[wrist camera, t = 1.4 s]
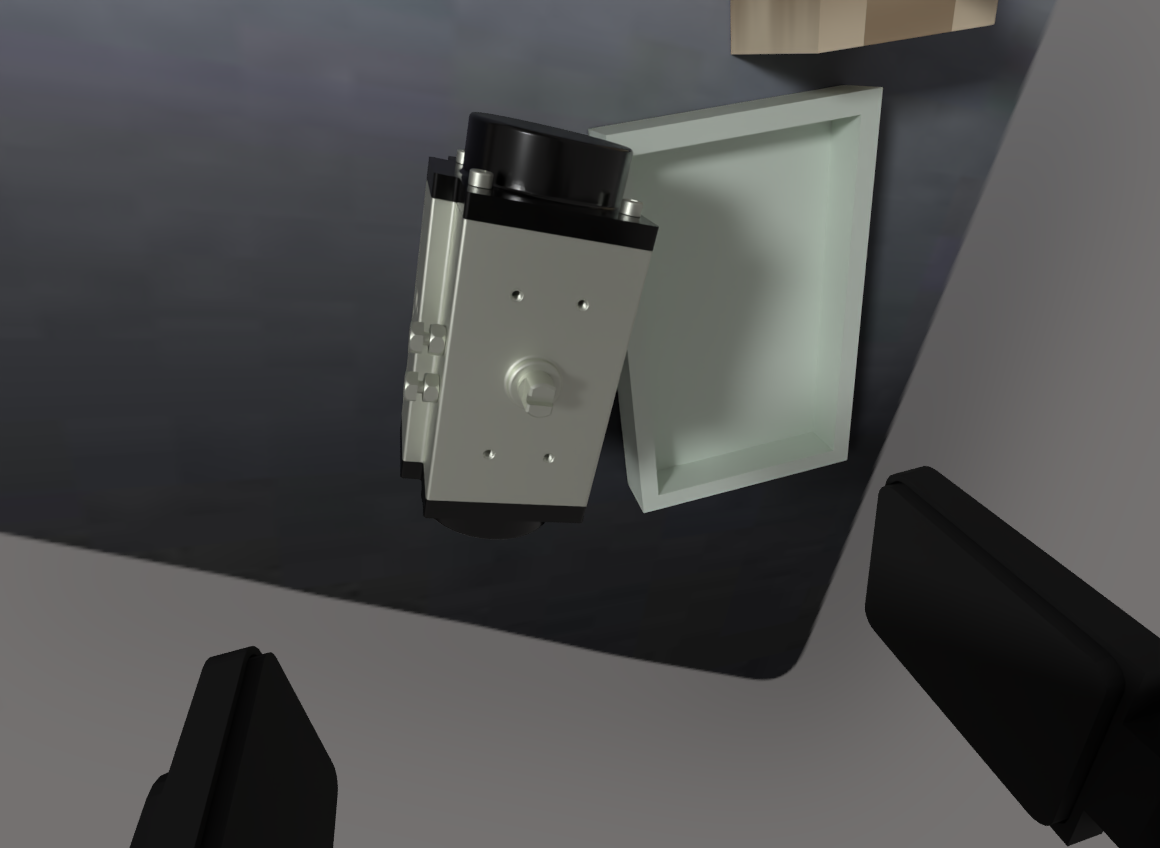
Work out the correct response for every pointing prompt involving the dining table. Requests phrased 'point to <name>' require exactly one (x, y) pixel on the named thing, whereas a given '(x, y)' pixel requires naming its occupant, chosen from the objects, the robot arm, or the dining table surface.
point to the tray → (746, 289)
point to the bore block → (846, 22)
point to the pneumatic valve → (519, 324)
